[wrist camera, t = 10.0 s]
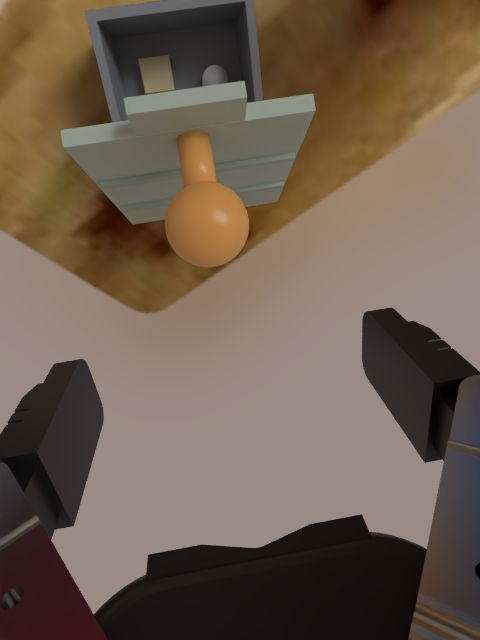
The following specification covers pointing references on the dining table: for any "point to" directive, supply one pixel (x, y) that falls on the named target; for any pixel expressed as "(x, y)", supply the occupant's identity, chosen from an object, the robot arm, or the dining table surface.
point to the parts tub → (174, 48)
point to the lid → (195, 162)
